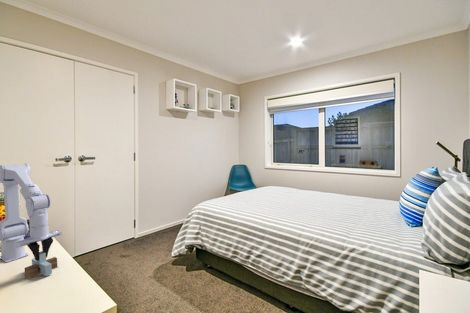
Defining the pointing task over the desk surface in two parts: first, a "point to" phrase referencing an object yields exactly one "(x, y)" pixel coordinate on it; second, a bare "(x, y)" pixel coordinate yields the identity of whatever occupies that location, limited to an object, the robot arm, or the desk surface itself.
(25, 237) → the pill bottle
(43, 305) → the desk surface
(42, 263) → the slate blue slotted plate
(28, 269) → the brown notched wooden bar
